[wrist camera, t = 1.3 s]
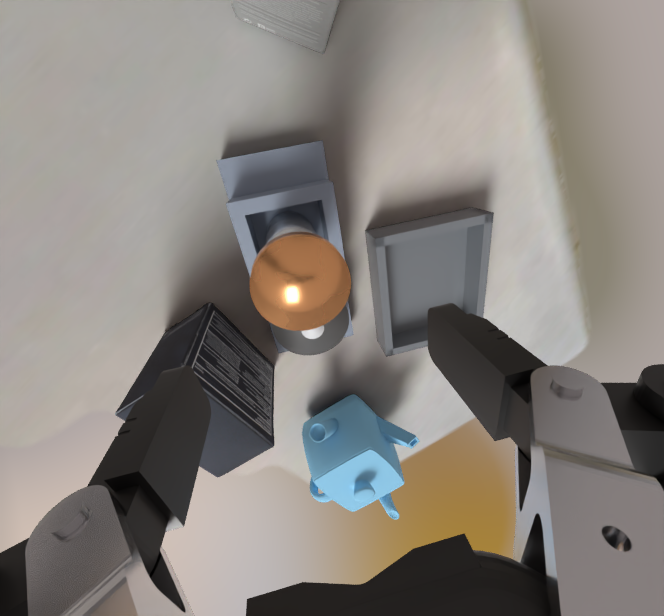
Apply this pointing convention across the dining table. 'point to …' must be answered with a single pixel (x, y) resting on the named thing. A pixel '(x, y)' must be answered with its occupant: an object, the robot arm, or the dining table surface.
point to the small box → (218, 386)
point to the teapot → (354, 455)
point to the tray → (426, 273)
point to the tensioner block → (277, 197)
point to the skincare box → (291, 19)
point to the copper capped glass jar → (298, 276)
